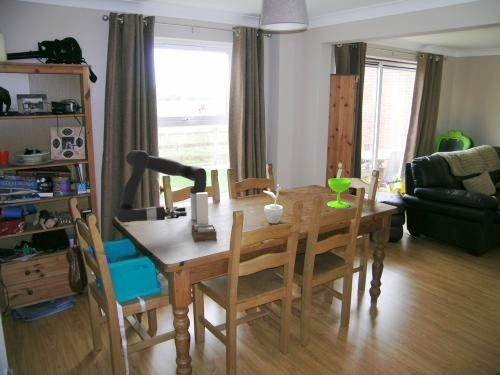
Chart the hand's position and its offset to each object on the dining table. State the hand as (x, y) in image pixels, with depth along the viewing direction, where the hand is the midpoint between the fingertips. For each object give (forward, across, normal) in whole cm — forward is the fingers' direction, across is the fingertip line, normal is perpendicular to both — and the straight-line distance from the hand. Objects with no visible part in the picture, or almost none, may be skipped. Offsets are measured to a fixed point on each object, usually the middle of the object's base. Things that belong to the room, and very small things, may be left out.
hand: (185, 211), depth 214 cm
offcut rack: (+9, -4, +14) cm, 17 cm away
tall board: (+9, 0, +12) cm, 15 cm away
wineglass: (+110, +38, +15) cm, 118 cm away
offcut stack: (+9, -6, +12) cm, 16 cm away
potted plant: (+54, +12, +14) cm, 57 cm away
